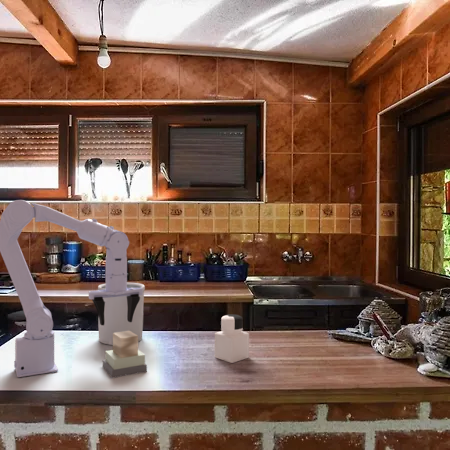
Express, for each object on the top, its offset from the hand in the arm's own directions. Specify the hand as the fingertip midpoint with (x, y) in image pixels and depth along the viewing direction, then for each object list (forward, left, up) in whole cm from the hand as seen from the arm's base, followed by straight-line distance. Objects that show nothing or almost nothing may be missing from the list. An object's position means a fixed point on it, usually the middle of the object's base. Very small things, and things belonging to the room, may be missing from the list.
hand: (116, 323), depth 123 cm
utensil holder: (+7, +20, -11) cm, 24 cm away
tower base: (0, -8, -11) cm, 14 cm away
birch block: (0, -8, -6) cm, 10 cm away
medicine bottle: (+30, -13, -11) cm, 34 cm away
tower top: (0, -8, -9) cm, 12 cm away
